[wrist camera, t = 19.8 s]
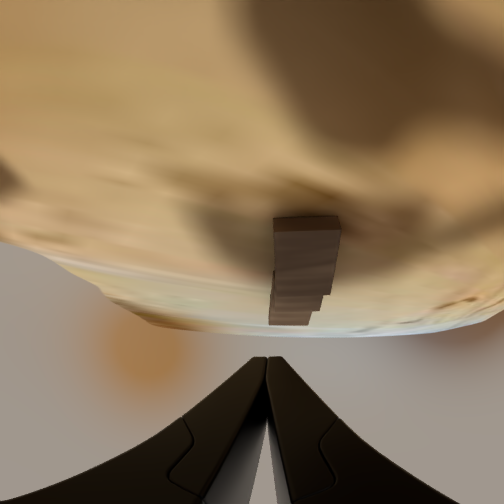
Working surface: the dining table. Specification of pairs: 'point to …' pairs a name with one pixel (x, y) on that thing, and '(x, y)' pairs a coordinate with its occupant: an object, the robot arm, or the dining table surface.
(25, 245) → the dining table surface
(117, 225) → the dining table surface
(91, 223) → the dining table surface
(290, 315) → the domino
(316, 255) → the domino
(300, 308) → the domino
